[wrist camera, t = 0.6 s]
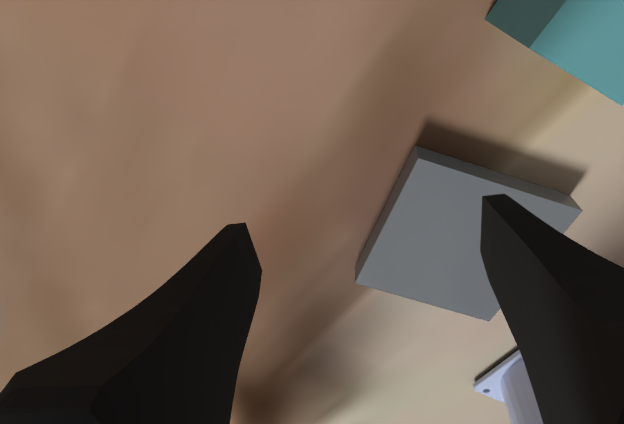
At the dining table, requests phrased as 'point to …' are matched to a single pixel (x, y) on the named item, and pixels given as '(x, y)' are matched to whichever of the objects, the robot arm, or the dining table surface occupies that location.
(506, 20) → the teal block
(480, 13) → the dining table surface
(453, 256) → the gray block
